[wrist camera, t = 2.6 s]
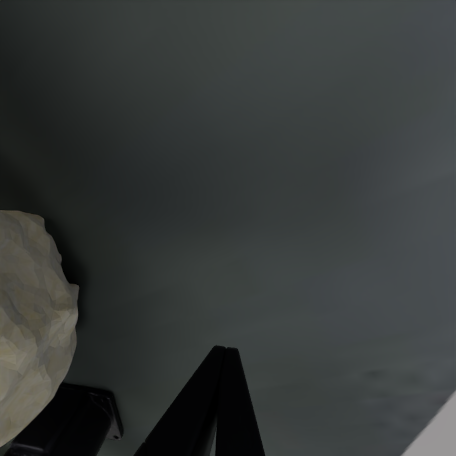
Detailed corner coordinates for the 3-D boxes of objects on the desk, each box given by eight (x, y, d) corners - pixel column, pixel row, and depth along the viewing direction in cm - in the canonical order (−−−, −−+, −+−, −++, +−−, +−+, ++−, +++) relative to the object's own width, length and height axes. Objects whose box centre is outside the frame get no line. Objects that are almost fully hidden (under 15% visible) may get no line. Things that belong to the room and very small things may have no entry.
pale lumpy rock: (77, 347, 22) (125, 499, 10) (-42, 389, 17) (-207, 753, 6) (56, 176, 20) (84, 121, 9) (-79, 173, 16) (-401, 49, 4)
